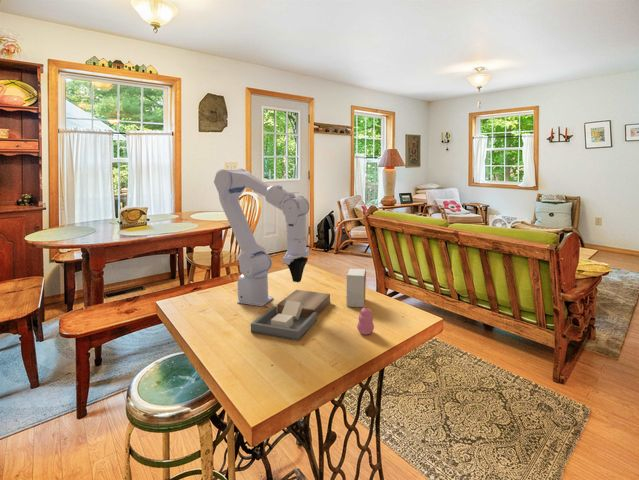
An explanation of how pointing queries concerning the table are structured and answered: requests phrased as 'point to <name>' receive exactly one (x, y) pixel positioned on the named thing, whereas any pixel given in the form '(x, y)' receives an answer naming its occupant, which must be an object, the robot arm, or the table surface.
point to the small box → (356, 287)
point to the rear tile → (292, 309)
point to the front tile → (282, 321)
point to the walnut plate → (307, 302)
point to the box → (293, 333)
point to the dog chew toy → (365, 322)
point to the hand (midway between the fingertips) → (296, 281)
